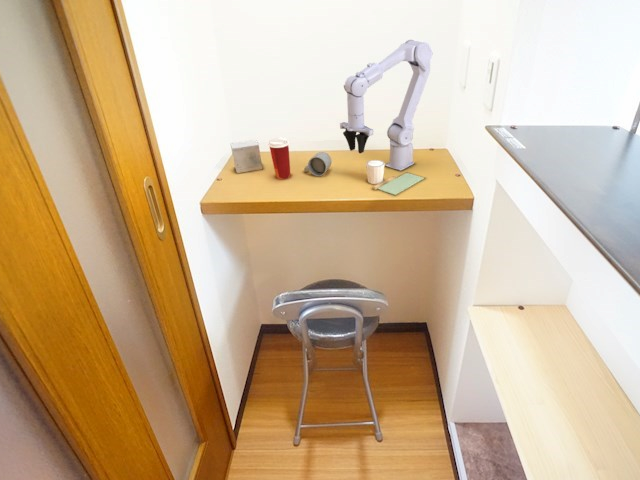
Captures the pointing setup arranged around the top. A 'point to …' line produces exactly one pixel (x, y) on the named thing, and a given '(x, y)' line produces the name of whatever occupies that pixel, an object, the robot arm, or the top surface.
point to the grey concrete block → (246, 156)
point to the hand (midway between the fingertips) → (356, 151)
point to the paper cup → (280, 157)
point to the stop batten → (383, 182)
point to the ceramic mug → (319, 164)
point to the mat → (400, 183)
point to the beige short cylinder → (375, 171)
